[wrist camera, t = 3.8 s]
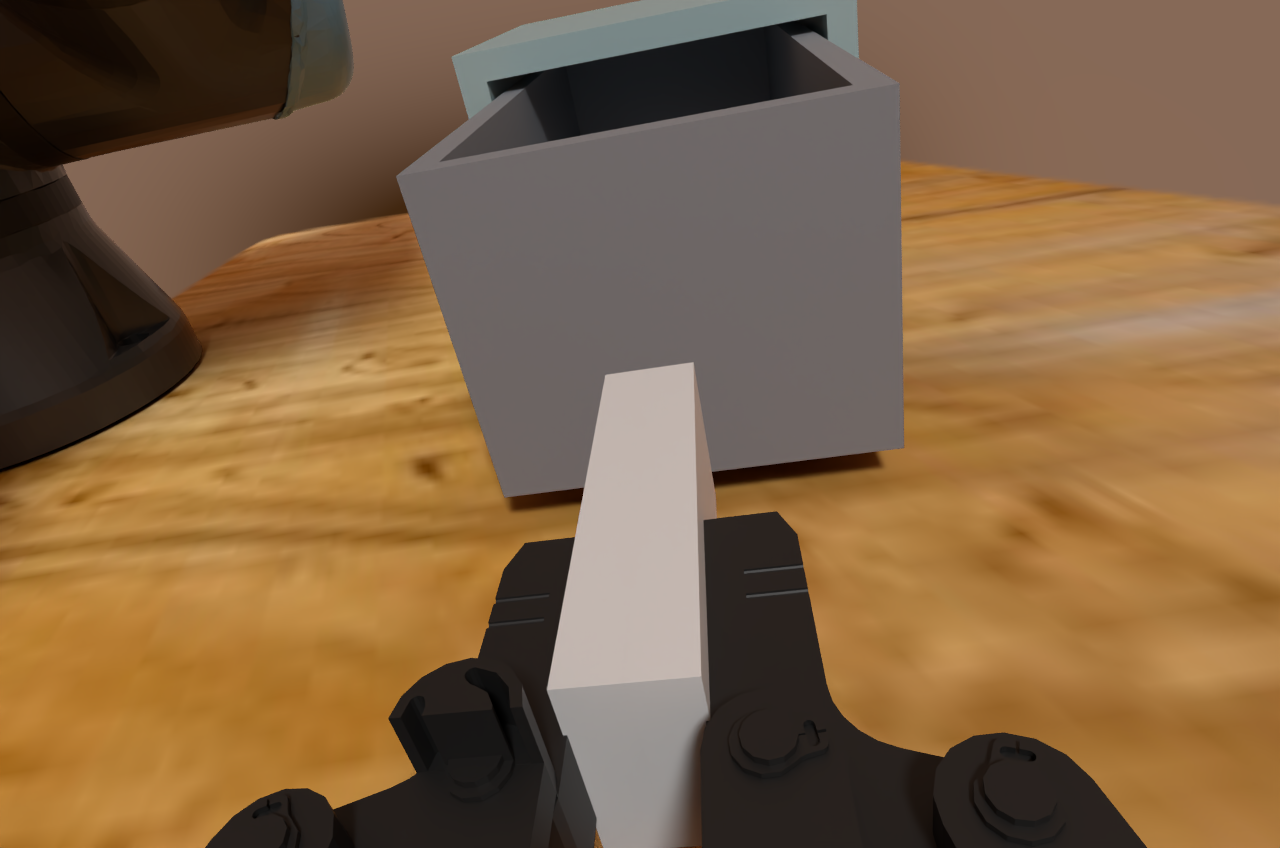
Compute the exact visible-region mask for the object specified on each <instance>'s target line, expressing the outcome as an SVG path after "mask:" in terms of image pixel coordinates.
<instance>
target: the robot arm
mask: <svg viewBox="0 0 1280 848" xmlns="http://www.w3.org/2000/svg"><path fill="white" fill-rule="evenodd" d="M353 69H354V63H353V52H352V46H351V40H350V35H349V29H348V24H347V19H346V14H345V10H344V5H343V0H0V469H2V468H5V467H8V466H11V465H14V464H17V463H20V462H23V461H25V460H28V459H31V458H34V457H36V456H39V455H42V454H44V453H47V452H49V451H52V450H54V449H57V448H59V447H62V446H64V445H66V444H69V443H71V442H73V441H76V440H78V439H80V438H82V437H85V436H87V435H89V434H91V433H93V432H95V431H97V430H99V429H102V428H104V427H106V426H107V425H109V424H111V423H113V422H115V421H117V420H119V419H121V418H123V417H125V416H127V415H128V414H130V413H132V412H134V411H135V410H137V409H139V408H141V407H142V406H144V405H146V404H147V403H149V402H150V401H152V400H153V399H155V398H157V397H158V396H160V395H161V394H162V393H164V392H165V391H167V390H168V389H169V388H171V387H172V386H173V385H175V384H176V383H177V382H178V381H180V380H181V379H182V378H183V377H184V376H185V375H186V374H187V373H188V372H189V371H190V370H191V369H192V368H193V367H194V366H195V364H196V363H197V362H198V360H199V358H200V356H201V353H202V347H201V344H200V342H199V340H198V339H197V337H196V335H195V333H194V331H193V329H192V327H191V325H190V323H189V321H188V319H187V318H186V316H185V314H184V313H183V311H182V310H181V308H180V307H179V306H178V305H177V304H176V303H175V302H174V301H173V300H172V299H171V298H170V297H169V296H168V295H167V294H166V293H165V292H164V291H163V290H162V289H161V288H160V287H159V286H158V285H157V284H156V283H154V281H153V280H152V279H151V278H150V277H149V276H148V275H147V274H146V273H145V272H144V271H143V270H142V269H141V268H140V267H139V266H138V265H136V263H134V261H133V260H132V259H131V258H129V256H128V255H127V254H125V252H123V251H122V250H121V249H120V248H119V247H118V246H117V245H116V244H115V243H114V242H113V241H112V240H111V239H110V238H109V237H108V236H107V235H106V234H105V233H104V232H103V231H102V230H101V229H100V228H99V227H98V226H97V225H96V223H95V222H94V221H93V220H92V218H91V217H90V215H89V213H88V212H87V210H86V208H85V206H84V205H83V203H82V201H81V200H80V198H79V196H78V194H77V193H76V191H75V189H74V187H73V185H72V183H71V182H70V180H69V178H68V176H67V174H66V171H65V169H64V167H63V164H67V163H71V162H75V161H80V160H84V159H88V158H91V157H95V156H99V155H104V154H108V153H112V152H116V151H121V150H126V149H131V148H135V147H140V146H145V145H149V144H154V143H159V142H163V141H168V140H173V139H178V138H183V137H187V136H192V135H197V134H201V133H205V132H211V131H216V130H220V129H225V128H229V127H234V126H239V125H244V124H249V123H253V122H258V121H262V120H267V119H272V118H273V119H275V120H277V119H283V118H286V117H287V116H289V115H290V114H291V113H293V111H295V110H299V109H302V108H306V107H309V106H312V105H316V104H319V103H323V102H326V101H330V100H332V99H335V98H337V97H338V96H340V95H341V94H342V93H343V92H344V91H345V90H346V88H347V87H348V86H349V84H350V81H351V79H352V76H353ZM495 599H496V604H494V605H493V608H492V612H491V615H490V619H489V622H488V623H489V628H487V629H486V632H485V636H484V639H483V643H482V646H481V649H480V653H479V656H478V658H469V659H465V660H461V661H457V662H453V663H449V664H445V665H444V666H442V667H440V668H438V669H436V670H434V671H433V672H431V673H429V674H427V675H425V676H423V677H422V678H421V679H420V680H418V681H417V682H416V683H415V684H414V685H413V686H412V687H411V688H410V689H409V690H408V691H407V692H406V693H404V694H403V695H402V696H401V698H400V700H399V701H398V703H397V705H396V706H395V708H394V710H393V711H392V713H391V715H390V716H389V718H388V719H389V721H390V723H391V725H392V727H393V728H394V730H395V732H396V734H397V736H398V738H399V740H400V742H401V744H402V746H403V748H404V749H405V751H406V753H407V755H408V757H409V759H410V761H411V763H412V765H413V767H414V769H415V770H416V772H417V773H416V774H415V775H414V776H412V777H411V778H410V779H408V780H406V781H404V782H402V783H399V784H397V785H395V786H393V787H391V788H389V789H386V790H384V791H381V792H378V793H376V794H373V795H371V796H368V797H365V798H363V799H360V800H357V801H355V802H352V803H350V804H347V805H344V806H342V807H339V808H336V809H334V810H333V809H332V807H331V806H330V804H329V803H328V801H327V799H326V798H325V797H324V796H322V795H320V794H318V793H316V792H314V791H312V790H310V789H308V788H304V789H284V790H281V791H278V792H276V793H273V794H270V795H268V796H265V797H262V798H260V799H258V800H256V801H255V802H253V803H252V804H251V805H249V806H248V807H246V808H245V809H243V810H242V811H240V812H239V813H237V814H236V815H234V816H233V817H232V818H231V819H230V820H229V821H228V822H227V824H226V825H225V826H224V827H223V828H222V829H221V830H220V831H219V832H218V833H217V834H216V835H215V836H214V837H213V838H212V839H211V841H210V842H209V843H208V845H207V846H206V847H205V848H594V841H595V831H596V829H597V831H598V834H599V837H600V840H601V843H602V845H603V848H677V847H694V846H702V848H1147V847H1146V846H1145V844H1144V843H1143V842H1142V841H1141V839H1140V838H1139V837H1138V836H1137V834H1136V833H1135V832H1134V831H1133V829H1132V828H1131V827H1130V826H1129V824H1128V823H1127V822H1126V820H1125V819H1124V818H1123V817H1122V815H1121V814H1120V813H1119V812H1118V810H1117V809H1116V808H1115V807H1114V805H1113V804H1112V803H1111V802H1110V800H1109V799H1108V798H1107V797H1106V795H1105V794H1104V793H1103V792H1102V790H1101V789H1100V788H1099V786H1098V785H1097V784H1096V783H1095V781H1094V780H1093V779H1092V778H1091V777H1090V776H1089V775H1088V774H1087V773H1086V772H1085V771H1084V770H1082V769H1081V768H1080V767H1079V766H1078V765H1077V764H1076V763H1075V762H1074V761H1073V760H1072V759H1071V758H1070V757H1068V756H1067V755H1066V754H1064V753H1062V752H1060V751H1058V750H1056V749H1054V748H1052V747H1050V746H1048V745H1046V744H1044V743H1042V742H1040V741H1038V740H1037V739H1033V738H1028V737H1023V736H1018V735H1013V734H1008V733H995V734H986V735H976V736H972V737H971V738H969V739H967V740H965V741H963V742H961V743H959V744H957V745H956V746H954V747H952V748H950V750H949V751H948V752H947V754H946V755H945V757H940V756H935V755H930V754H926V753H921V752H917V751H912V750H907V749H903V748H899V747H896V746H893V745H889V744H886V743H883V742H880V741H877V740H876V739H874V738H872V737H870V736H868V735H867V734H865V733H863V732H861V731H860V730H858V729H857V728H856V727H855V726H854V725H852V724H851V723H850V722H849V721H848V720H847V719H846V718H844V717H843V715H842V714H841V713H840V711H839V710H838V708H837V707H836V705H835V704H834V703H833V701H832V698H831V696H830V693H829V690H828V687H827V684H826V679H825V673H824V668H823V663H822V658H821V653H820V648H819V643H818V638H817V633H816V628H815V623H814V617H813V612H812V607H811V602H810V597H809V593H808V587H807V582H806V577H805V572H804V568H803V561H802V556H801V551H800V546H799V541H798V536H797V534H796V532H795V531H794V530H793V529H792V528H791V527H790V526H789V525H788V524H787V522H786V521H785V520H784V519H783V518H782V517H781V516H780V515H779V513H778V512H768V513H759V514H751V515H742V516H734V517H725V518H717V512H716V495H715V488H714V482H713V476H712V470H711V464H710V458H709V452H708V446H707V440H706V434H705V428H704V422H703V416H702V410H701V404H700V398H699V392H698V386H697V380H696V374H695V368H694V362H691V363H684V364H677V365H670V366H663V367H656V368H649V369H642V370H635V371H629V372H622V373H615V374H608V375H605V380H604V385H603V390H602V396H601V401H600V407H599V412H598V417H597V423H596V428H595V433H594V439H593V444H592V450H591V455H590V460H589V466H588V471H587V476H586V482H585V487H584V493H583V498H582V503H581V509H580V514H579V519H578V525H577V530H576V536H575V537H573V538H564V539H556V540H547V541H538V542H530V543H525V544H524V545H523V546H522V548H521V549H520V550H519V551H518V553H517V554H516V555H515V556H514V558H513V559H512V560H511V561H510V563H509V564H508V565H507V566H506V567H505V569H504V571H503V574H502V578H501V581H500V584H499V588H498V591H497V595H496V598H495Z"/></svg>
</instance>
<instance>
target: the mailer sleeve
mask: <svg viewBox="0 0 1280 848" xmlns="http://www.w3.org/2000/svg"><path fill="white" fill-rule="evenodd" d="M790 21H797V22H799V23H800V24H802V25H804V26H805V27H807V28H809V29H810V30H812V31H814V32H815V33H817V34H819V35H820V36H822V37H824V38H825V39H827V40H828V41H830V42H832V43H833V44H835V45H837V46H838V47H840V48H842V49H843V50H845V51H847V52H848V53H850V54H852V55H853V56H855V57H857V58H858V59H859V52H858V24H857V0H642V1H637V2H631V3H627V4H622V5H617V6H612V7H607V8H602V9H598V10H593V11H588V12H583V13H579V14H574V15H569V16H564V17H559V18H554V19H550V20H545V21H540V22H535V23H530V24H526V25H521V26H519V27H517V28H515V29H512V30H510V31H508V32H506V33H504V34H501V35H499V36H497V37H495V38H492V39H490V40H488V41H486V42H484V43H481V44H480V45H477V46H475V47H472V48H470V49H468V50H466V51H464V52H461V53H459V54H457V55H455V56H453V57H452V60H453V64H454V67H455V71H456V75H457V78H458V82H459V85H460V89H461V92H462V96H463V100H464V103H465V106H466V110H467V114H468V117H469V119H470V118H472V117H473V116H474V115H475V114H477V113H478V112H479V111H480V110H482V109H483V108H484V107H486V106H487V105H488V104H489V103H491V102H492V101H493V100H495V99H496V98H497V97H498V96H500V95H501V94H502V93H504V92H505V91H506V90H507V89H509V88H510V87H511V86H513V85H514V84H515V83H516V82H518V81H519V80H520V79H521V78H523V77H524V76H525V75H527V74H528V73H533V72H538V71H543V70H548V69H553V68H558V67H563V66H568V65H573V64H578V63H583V62H588V61H593V60H598V59H604V58H609V57H614V56H619V55H624V54H629V53H634V52H639V51H644V50H649V49H654V48H659V47H664V46H669V45H674V44H679V43H684V42H689V41H694V40H699V39H704V38H709V37H714V36H719V35H724V34H729V33H734V32H739V31H744V30H749V29H754V28H759V27H764V26H769V25H774V24H779V23H785V22H790Z"/></svg>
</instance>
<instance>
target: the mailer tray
mask: <svg viewBox="0 0 1280 848" xmlns="http://www.w3.org/2000/svg"><path fill="white" fill-rule="evenodd" d="M899 97H900V95H899V83H898V82H896V81H895V80H893V79H891V78H890V77H888V76H886V75H884V74H883V73H881V72H880V71H878V70H877V69H875V68H873V67H872V66H870V65H868V64H867V63H865V62H863V61H862V60H860V59H858V58H857V57H855V56H853V55H852V54H850V53H848V52H847V51H845V50H843V49H842V48H840V47H838V46H837V45H835V44H833V43H832V42H830V41H828V40H827V39H825V38H824V37H822V36H820V35H819V34H817V33H815V32H814V31H812V30H810V29H809V28H807V27H805V26H804V25H802V24H800V23H799V22H797V21H790V22H785V23H779V24H774V25H769V26H764V27H759V28H754V29H749V30H744V31H739V32H734V33H729V34H724V35H719V36H714V37H709V38H704V39H699V40H694V41H689V42H684V43H679V44H674V45H669V46H664V47H659V48H654V49H649V50H644V51H639V52H634V53H629V54H624V55H619V56H614V57H609V58H604V59H598V60H593V61H588V62H583V63H578V64H573V65H568V66H563V67H558V68H553V69H548V70H543V71H538V72H533V73H528V74H527V75H525V76H524V77H523V78H521V79H520V80H519V81H518V82H516V83H515V84H514V85H513V86H511V87H510V88H509V89H507V90H506V91H505V92H504V93H502V94H501V95H500V96H498V97H497V98H496V99H495V100H493V101H492V102H491V103H489V104H488V105H487V106H486V107H484V108H483V109H482V110H480V111H479V112H478V113H477V114H475V115H474V116H473V117H472V118H470V119H469V120H468V121H467V122H465V123H464V124H463V125H461V126H460V127H459V128H457V129H456V130H455V131H454V132H452V133H451V134H450V135H448V136H447V137H446V138H445V139H443V140H442V141H441V142H439V143H438V144H437V145H436V146H434V147H433V148H432V149H430V150H429V151H428V152H427V153H426V154H424V155H423V156H422V157H420V158H419V159H418V160H417V161H415V162H414V163H413V164H411V165H410V166H409V167H407V168H406V169H405V170H404V171H402V172H401V173H400V174H398V175H397V176H396V177H397V181H398V183H399V186H400V189H401V192H402V195H403V198H404V201H405V204H406V207H407V210H408V213H409V216H410V219H411V222H412V225H413V228H414V231H415V234H416V237H417V240H418V243H419V246H420V249H421V252H422V255H423V258H424V261H425V263H426V266H427V269H428V272H429V275H430V278H431V281H432V284H433V287H434V290H435V293H436V296H437V299H438V302H439V305H440V308H441V311H442V314H443V317H444V320H445V323H446V326H447V329H448V332H449V335H450V338H451V341H452V344H453V346H454V349H455V352H456V355H457V358H458V361H459V364H460V367H461V370H462V373H463V376H464V379H465V382H466V385H467V388H468V391H469V394H470V397H471V400H472V403H473V406H474V409H475V412H476V415H477V418H478V421H479V424H480V426H481V429H482V432H483V435H484V438H485V441H486V444H487V447H488V450H489V453H490V456H491V459H492V462H493V465H494V468H495V471H496V474H497V477H498V480H499V483H500V486H501V489H502V492H503V495H504V497H512V496H520V495H528V494H536V493H544V492H552V491H560V490H568V489H576V488H584V487H585V482H586V476H587V471H588V466H589V460H590V455H591V450H592V444H593V439H594V433H595V428H596V423H597V417H598V412H599V407H600V401H601V396H602V390H603V385H604V380H605V375H608V374H615V373H622V372H629V371H635V370H642V369H649V368H656V367H663V366H670V365H677V364H684V363H691V362H694V368H695V374H696V380H697V386H698V392H699V398H700V404H701V410H702V416H703V422H704V428H705V434H706V440H707V446H708V452H709V458H710V464H711V470H712V472H714V471H722V470H730V469H738V468H746V467H754V466H763V465H771V464H779V463H787V462H795V461H803V460H811V459H819V458H827V457H835V456H844V455H852V454H860V453H868V452H876V451H884V450H892V449H900V448H904V412H903V332H902V252H901V173H900V98H899Z"/></svg>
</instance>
